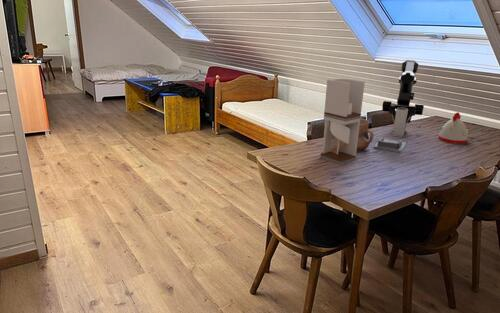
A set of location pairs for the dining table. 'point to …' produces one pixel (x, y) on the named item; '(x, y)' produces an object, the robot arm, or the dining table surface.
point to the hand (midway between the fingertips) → (400, 122)
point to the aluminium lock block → (400, 121)
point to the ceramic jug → (362, 141)
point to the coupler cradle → (390, 145)
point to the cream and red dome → (454, 131)
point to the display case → (342, 119)
